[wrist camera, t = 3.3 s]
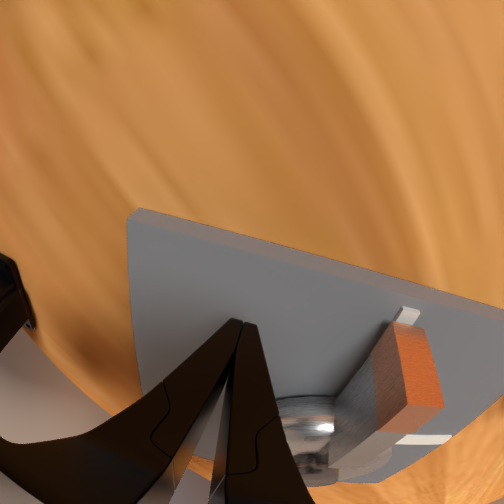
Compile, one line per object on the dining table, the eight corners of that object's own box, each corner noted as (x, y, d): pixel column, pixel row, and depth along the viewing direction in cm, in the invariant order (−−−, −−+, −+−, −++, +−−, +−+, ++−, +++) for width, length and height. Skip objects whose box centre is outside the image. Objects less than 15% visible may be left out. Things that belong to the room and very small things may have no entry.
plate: (155, 432, 23) (151, 442, 22) (139, 207, 11) (123, 220, 10) (377, 474, 22) (377, 484, 21) (548, 323, 10) (556, 338, 9)
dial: (349, 462, 18) (346, 506, 15) (231, 443, 18) (219, 489, 15) (484, 338, 10) (510, 407, 7) (295, 292, 10) (283, 383, 7)
